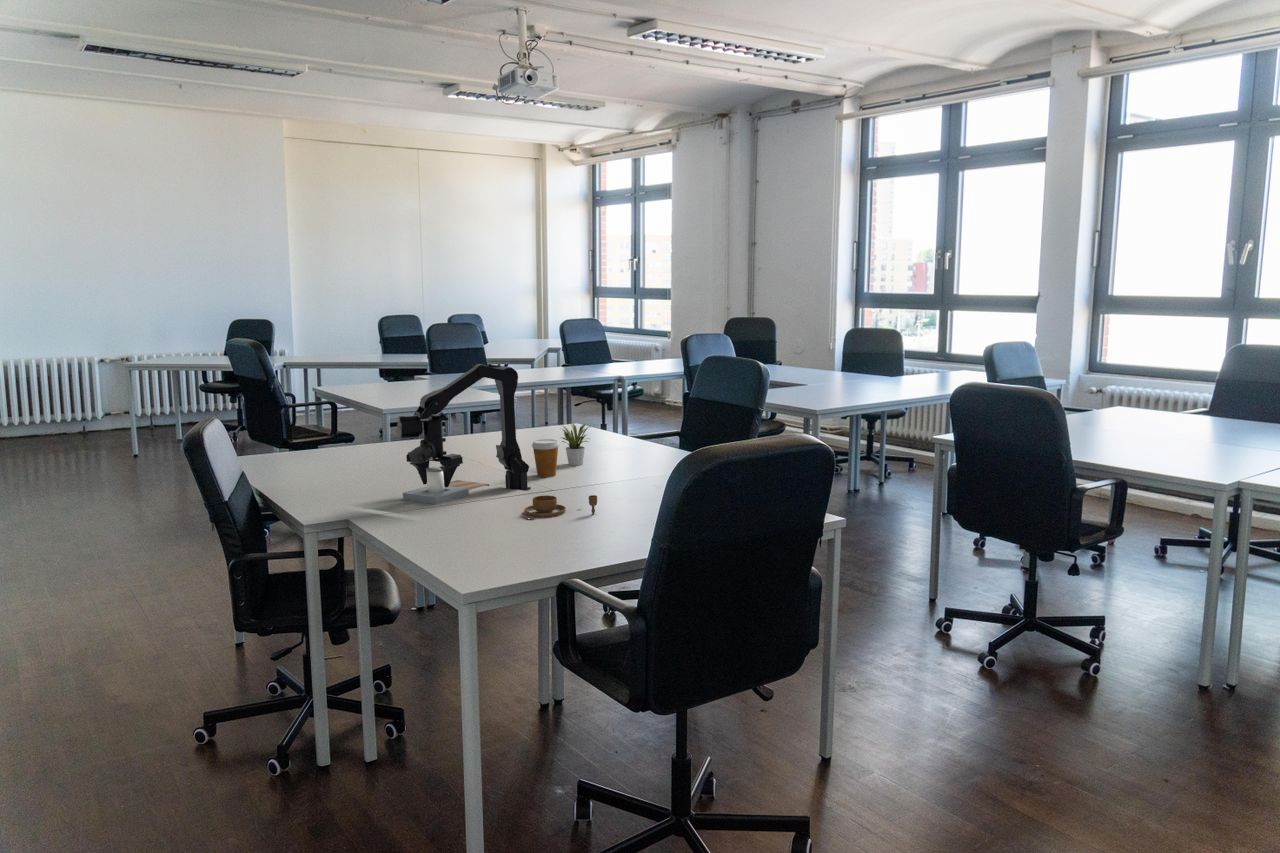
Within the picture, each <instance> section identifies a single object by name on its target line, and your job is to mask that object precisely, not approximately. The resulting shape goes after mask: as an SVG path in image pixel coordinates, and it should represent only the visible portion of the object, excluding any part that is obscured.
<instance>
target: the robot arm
mask: <svg viewBox="0 0 1280 853" xmlns="http://www.w3.org/2000/svg"><path fill="white" fill-rule="evenodd" d="M483 378H486V379H491V380H494V382H495V386H496V389H497V393H498V395H499V406H500V408H499V409H500V424H501V425H500V426H501V441H500V444H496V445H495V449H496V454H495V457H496V458H497V459H498V462H499V464H501V465H502V466H503V467H504V470H505V475H504V477H505V489H508V490H517V491H527V490H530V489H531V488H532V487H530V486H528V472H529V468H530V465H529V464H528V463H527V462H526V461H524V459H523V458H522V451H521V449H520V445H519V443H518V441H517V431H516V430H517V429H516V428H517V427H516V426H517V425H516V410H515V394H516V391H517V388H518V384H519V383H518V382H519V374H518V371H517V370H516V369H514V368H512V367H508V366H503V365H502V366H499V367H498V368H496V367H493V366H488V365H485V364H482V363H476V364H475V365H473V367H472V368H471V369H469V370H467V371H466V372H464V373H463V374H462V375H460V376H458V377H457V378H455V379H454V380H453V381H451V382H450V383H448V384H446V385H445V386H443V387H441V388H439V389H436V390H433V391H431V392H428V393H427V394H424V395H423V396H422V397H421V398H420V399H419V400H420V401H419V406H418V408H417V409H416V410H415V412H414V414H413V415H398V417H397V418H398V419H397V424H396V434H397V437H398V439H399V440H401V439H413V438H419V437H420V436H421V435H423V439H420V441H419V446H417V447H415V448H414V449H412V450H411V451H409V452H407V454H406V457H405V458H406V462H407V463H409V465H412V466H413V467H414V468H415V469H416V470H417V473H418V475H419V477H420V480H421V481H422V484H423V485H427V471H426V468H429V467H430V462H439V464H440V465H441V466H439V467H440V468H441V469H442V470H443V477H444V485H445V487H448V486H449V484H450V482H452V478H454V477H453V476H454V474H455V472H456V470H457V468H458V467H460V465H462V464H463V463H464V461H463V456H462V455H461V454H457V453H451V454H447V451H446V450H444V443H445V442H446V440H447V439H446V437H444V436H443V422H445V421H449V417H448V416H446V415H445V414H444V412H442V411H443V410H444V409H445V408H446V407H447V406H448V405H449V403H450V402H451V401H452V400H453V399H454V398H455V397H457V396H458V395H460V394H461V393H463V392H464V391H466V390H467V389H468V388H470V387H471V386H472V385H474V384H476V383H477V382H478V381H480V380H481V379H483Z"/></svg>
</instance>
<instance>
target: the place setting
mask: <svg viewBox="0 0 1280 853" xmlns="http://www.w3.org/2000/svg"><path fill="white" fill-rule="evenodd" d="M557 500H558V499H557V496H555V495H538V496H534V497H532V504H531V505H528V506H526V507H524V509H523V512H524V514H525V515H526V516H521V515H519V516H520V517H519V518H522V519H523V518H524V519H525V520H528V518H530V520H531V521H532V519H533V520H535V518H541V517H542V518H552V516H554V517H558V515H559V516H561V514H562V515H563V514H565V513H566V510H567V509H566V506H565V505H562V504H558V502H557ZM588 504H589V505H590V506H591V510H590V511H591V514H592V516H595V515H596V514H595V513H596V509H595V508H596V506H597V504H598V496H597V495H595V494H592V495H591V494H590V495H588ZM558 509H559V511H555V510H558ZM561 510H562V511H561ZM580 510H581V508H580V509H578V511H580ZM529 511H530V512H529ZM532 511H536V512H537V513H535V512H532ZM594 514H595V515H594ZM531 516H532V517H531ZM530 520H529V521H530Z"/></svg>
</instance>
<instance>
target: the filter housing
mask: <svg viewBox="0 0 1280 853" xmlns="http://www.w3.org/2000/svg"><path fill="white" fill-rule="evenodd" d="M469 492H470V490H469V489H468V488H460V487H453V486H448V487H445V485H444V492H441V493H438V494H433V493H428V489H427V486H424V487H420V488H416V489H413V490H409V491H405V492H404V491H403V492H402V499H403V500H404V499H406V500H405V501H411V502H417V503H419V502H420V503H424V504H432V505H440V504H442V503H446V502H450V501H452V500H456V499H459V498H460V499H461V498H463V497H467V496H469V495H470V493H469Z"/></svg>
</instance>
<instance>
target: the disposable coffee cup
mask: <svg viewBox="0 0 1280 853" xmlns="http://www.w3.org/2000/svg"><path fill="white" fill-rule="evenodd" d="M559 446H560V443H559V440H558V439H552V438H551V439H550V438H548V439H546V438H545V439H543V438H542V439H535V440H533V441H532V444H531V447H532V451H533V455H534V460H535V463H534V464H535V468H536V473H537V474H536V475H537V476H538V477H539V476H540V477H541V478H552V477H555V476H556V475H557V466H558V464H557V463H558V454H559V453H558V452H559ZM551 476H552V477H551Z"/></svg>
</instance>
